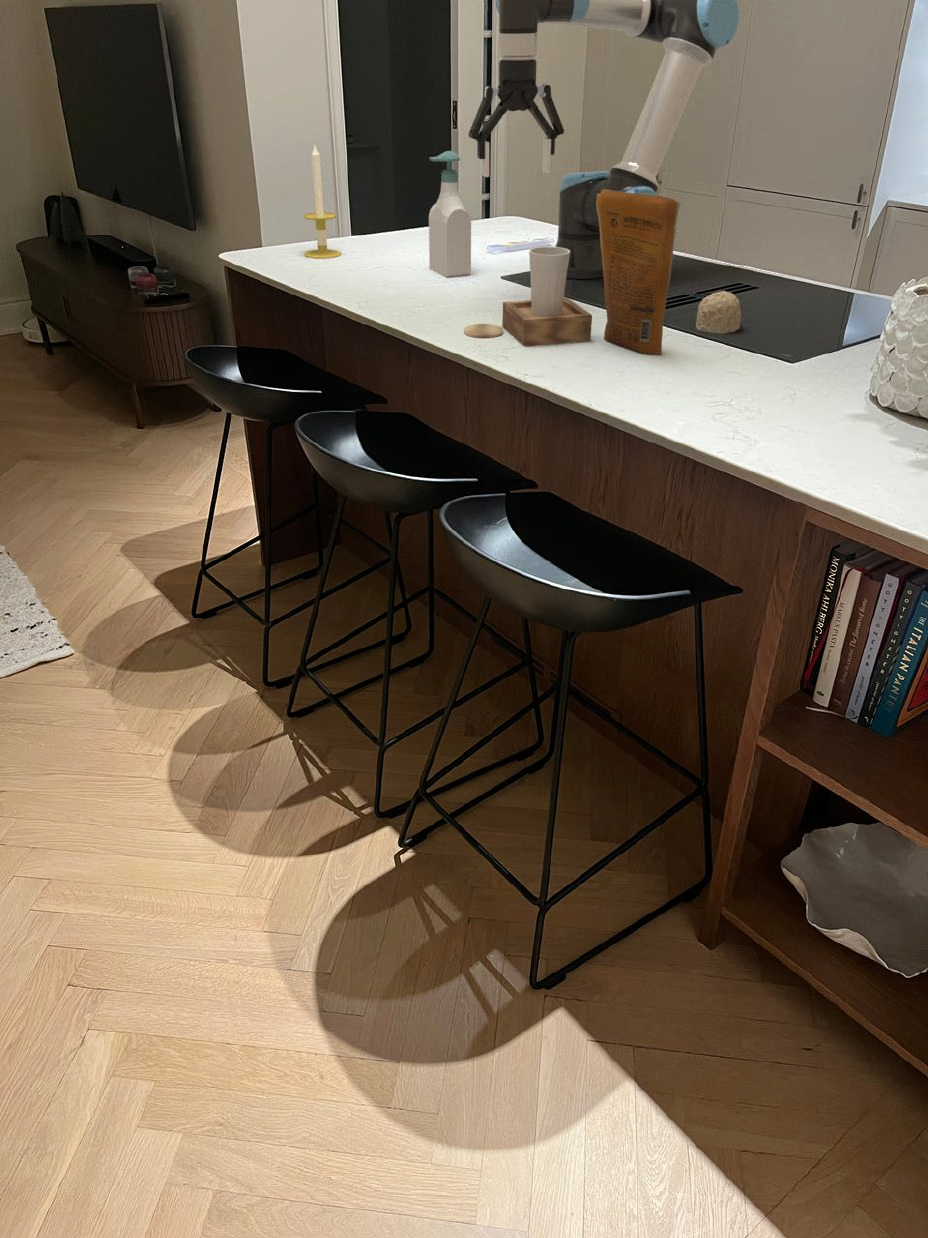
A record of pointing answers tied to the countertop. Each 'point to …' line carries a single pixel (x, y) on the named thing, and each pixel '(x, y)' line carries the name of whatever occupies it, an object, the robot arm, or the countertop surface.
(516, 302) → the wooden tray
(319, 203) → the candle
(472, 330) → the coaster
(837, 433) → the countertop surface
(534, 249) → the cup
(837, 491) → the countertop surface
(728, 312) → the sponge
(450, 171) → the soap bottle
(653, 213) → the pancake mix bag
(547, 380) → the countertop surface
